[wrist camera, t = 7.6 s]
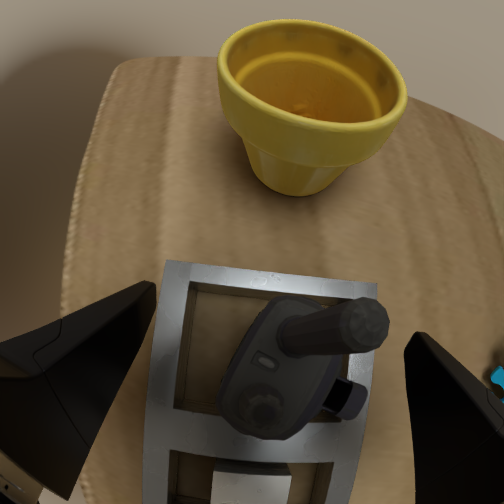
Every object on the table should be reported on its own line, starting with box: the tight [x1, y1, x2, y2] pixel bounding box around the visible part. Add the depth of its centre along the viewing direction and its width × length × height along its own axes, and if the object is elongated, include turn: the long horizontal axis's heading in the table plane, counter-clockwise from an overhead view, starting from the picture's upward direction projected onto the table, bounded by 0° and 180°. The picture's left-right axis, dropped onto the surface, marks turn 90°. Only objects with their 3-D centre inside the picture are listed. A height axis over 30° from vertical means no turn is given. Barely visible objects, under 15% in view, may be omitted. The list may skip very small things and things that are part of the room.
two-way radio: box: [215, 295, 390, 441], centre depth 10 cm, size 6×4×15 cm
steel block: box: [211, 457, 292, 504], centre depth 13 cm, size 4×4×4 cm
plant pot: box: [217, 19, 407, 196], centre depth 17 cm, size 10×10×10 cm
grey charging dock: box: [142, 260, 377, 504], centre depth 15 cm, size 16×12×3 cm
